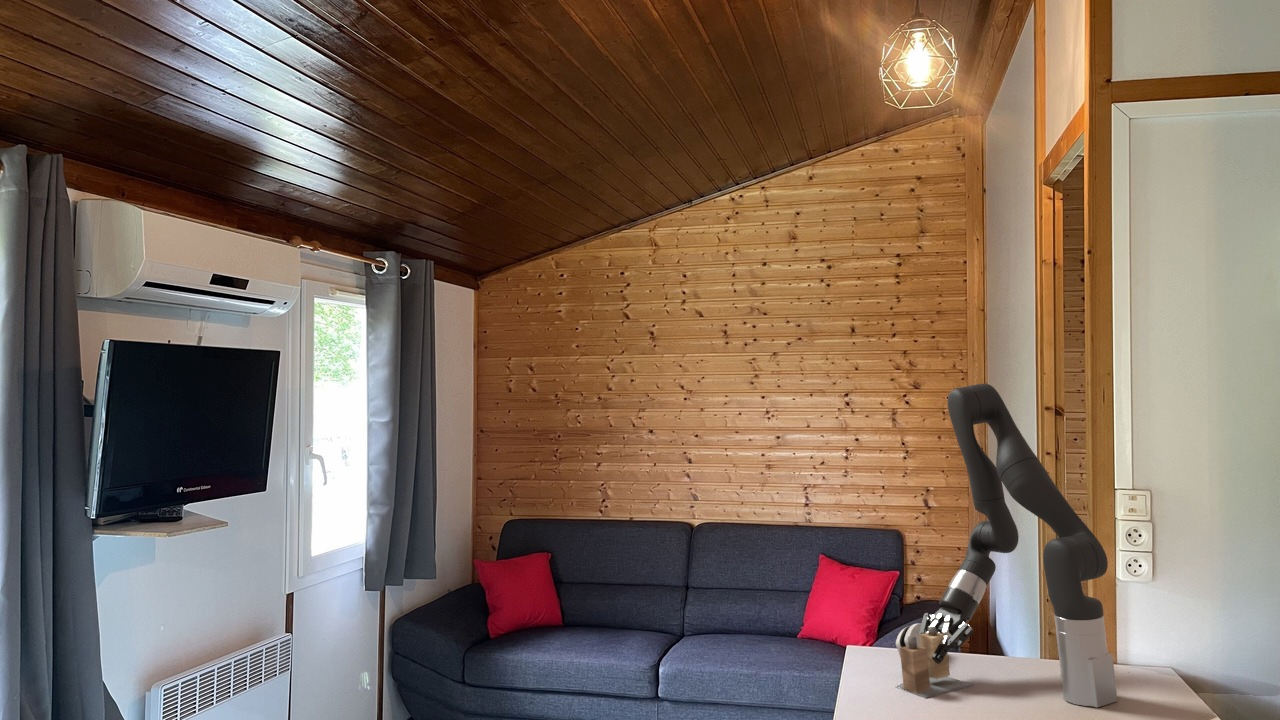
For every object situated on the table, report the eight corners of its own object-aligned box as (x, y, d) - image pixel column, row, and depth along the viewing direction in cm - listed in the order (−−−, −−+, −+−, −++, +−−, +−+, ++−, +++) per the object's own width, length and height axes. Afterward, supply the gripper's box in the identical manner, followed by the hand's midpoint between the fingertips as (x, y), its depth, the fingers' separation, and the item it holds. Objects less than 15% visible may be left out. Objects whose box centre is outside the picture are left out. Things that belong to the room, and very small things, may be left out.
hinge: (926, 674, 211) (908, 632, 213) (908, 679, 213) (890, 637, 216) (947, 653, 225) (929, 614, 227) (930, 658, 227) (912, 620, 229)
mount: (971, 685, 201) (965, 632, 201) (926, 698, 195) (920, 643, 196) (938, 674, 210) (933, 623, 210) (894, 686, 204) (889, 634, 205)
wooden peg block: (949, 675, 202) (945, 627, 203) (936, 679, 201) (931, 631, 201) (937, 671, 206) (932, 624, 206) (923, 674, 204) (918, 627, 205)
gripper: (931, 580, 214) (896, 642, 208) (976, 590, 201) (940, 656, 195) (950, 599, 216) (916, 661, 210) (997, 609, 203) (961, 676, 197)
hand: (928, 658), depth 203 cm, fingers closed on wooden peg block, 4 cm apart
